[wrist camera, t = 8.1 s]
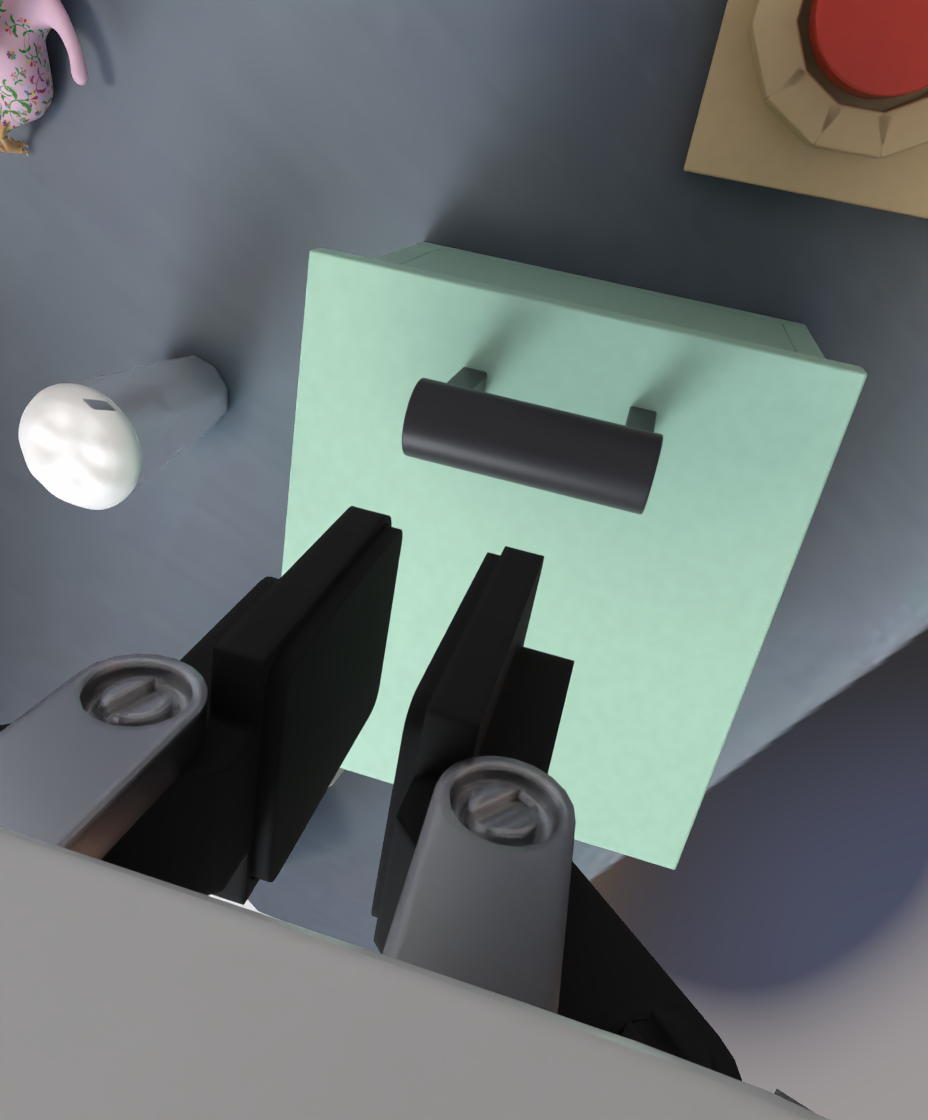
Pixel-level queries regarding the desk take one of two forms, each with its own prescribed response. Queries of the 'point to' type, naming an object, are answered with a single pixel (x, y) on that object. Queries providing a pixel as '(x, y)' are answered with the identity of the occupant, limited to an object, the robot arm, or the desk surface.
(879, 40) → the release button
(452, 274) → the green lidded box
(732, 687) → the hinged box lid
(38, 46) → the rabbit figure
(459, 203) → the desk surface
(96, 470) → the milkshake
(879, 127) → the button box
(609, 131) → the desk surface
